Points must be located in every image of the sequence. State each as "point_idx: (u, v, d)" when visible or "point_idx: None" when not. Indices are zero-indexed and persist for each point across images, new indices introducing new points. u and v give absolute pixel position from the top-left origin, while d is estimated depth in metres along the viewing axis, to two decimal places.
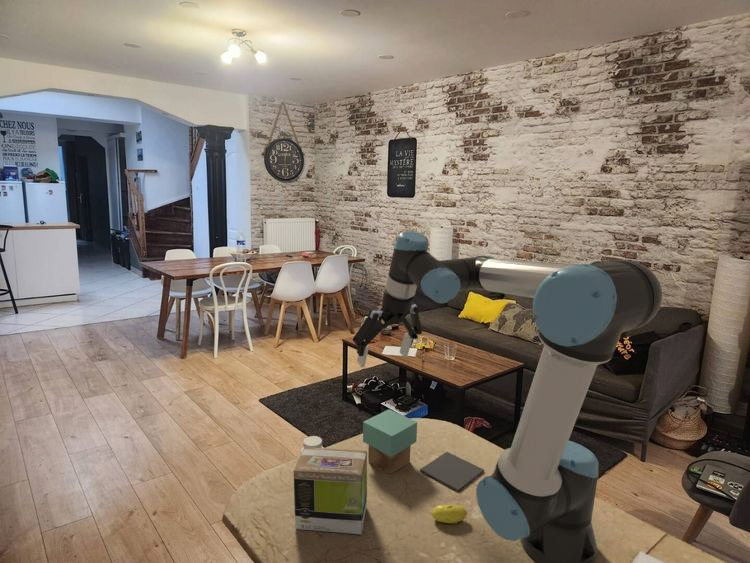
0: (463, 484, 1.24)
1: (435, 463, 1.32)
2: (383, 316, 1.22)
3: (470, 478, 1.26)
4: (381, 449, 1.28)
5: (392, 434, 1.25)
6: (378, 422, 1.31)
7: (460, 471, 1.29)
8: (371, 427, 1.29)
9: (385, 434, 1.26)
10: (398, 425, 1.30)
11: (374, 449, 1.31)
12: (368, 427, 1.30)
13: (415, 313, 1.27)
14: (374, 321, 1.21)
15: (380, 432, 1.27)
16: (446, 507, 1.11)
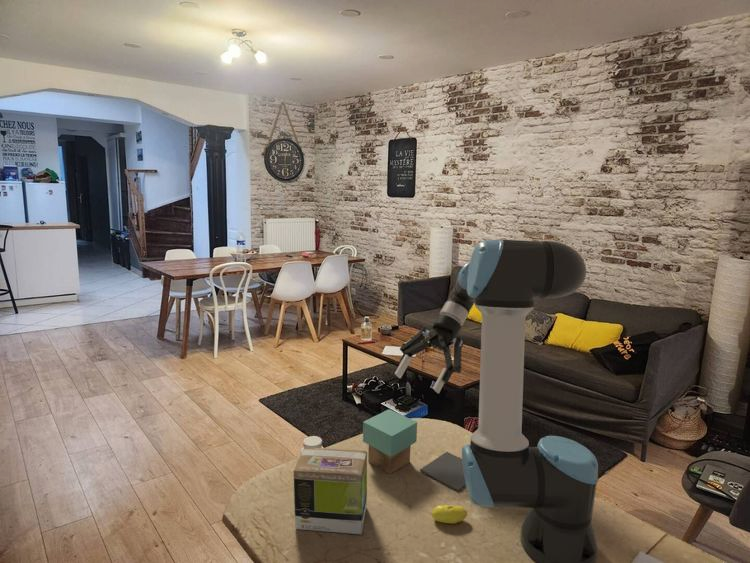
0: (463, 484, 1.24)
1: (435, 463, 1.32)
2: (428, 333, 1.44)
3: None
4: (381, 449, 1.28)
5: (392, 434, 1.25)
6: (378, 422, 1.31)
7: (460, 471, 1.29)
8: (371, 427, 1.29)
9: (385, 434, 1.26)
10: (398, 425, 1.30)
11: (374, 449, 1.31)
12: (368, 427, 1.30)
13: (455, 342, 1.37)
14: (420, 332, 1.46)
15: (380, 432, 1.27)
16: (446, 507, 1.11)
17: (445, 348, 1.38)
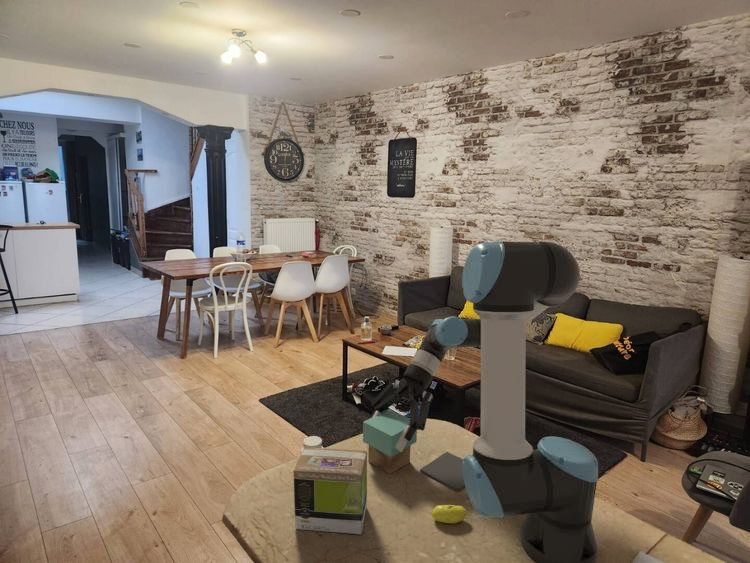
0: (463, 484, 1.24)
1: (435, 463, 1.32)
2: (399, 383, 1.38)
3: None
4: (381, 449, 1.28)
5: (392, 434, 1.25)
6: (378, 422, 1.31)
7: (460, 471, 1.29)
8: (371, 427, 1.29)
9: (385, 434, 1.26)
10: (398, 425, 1.30)
11: (374, 449, 1.31)
12: (368, 427, 1.30)
13: (424, 397, 1.31)
14: (389, 384, 1.39)
15: (380, 432, 1.27)
16: (446, 507, 1.11)
17: (412, 402, 1.31)
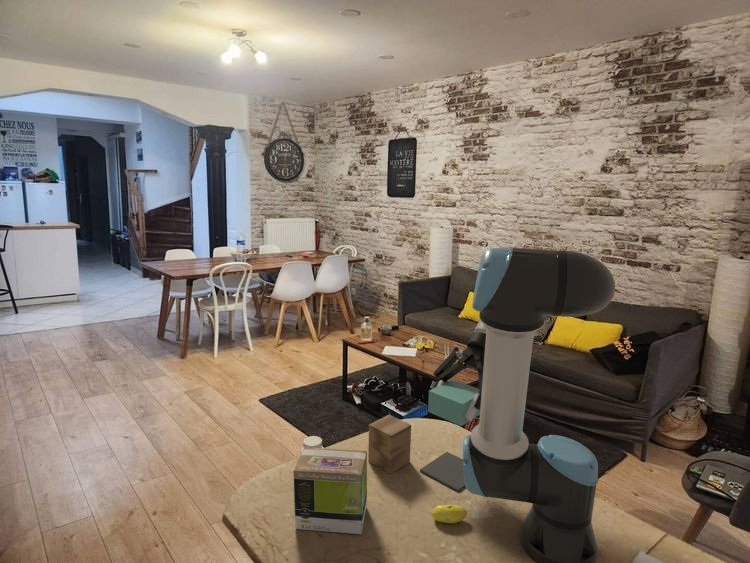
0: (463, 484, 1.24)
1: (435, 463, 1.32)
2: (463, 351, 1.32)
3: None
4: (449, 419, 1.22)
5: (463, 402, 1.19)
6: (444, 391, 1.25)
7: (460, 471, 1.29)
8: (439, 396, 1.23)
9: (455, 402, 1.20)
10: (466, 394, 1.24)
11: (374, 449, 1.31)
12: (435, 396, 1.24)
13: None
14: (452, 353, 1.33)
15: (449, 400, 1.21)
16: (446, 507, 1.11)
17: (480, 370, 1.25)
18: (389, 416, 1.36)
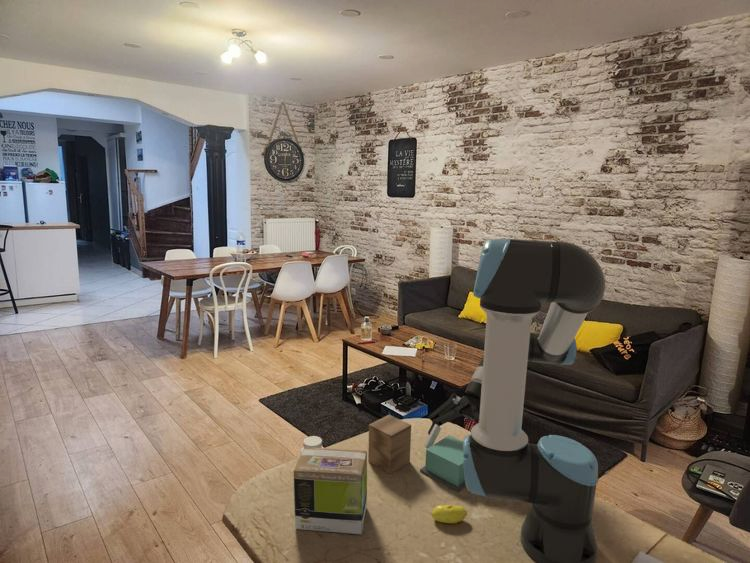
0: (463, 484, 1.24)
1: None
2: (459, 400, 1.35)
3: None
4: (446, 478, 1.25)
5: (459, 463, 1.23)
6: (441, 450, 1.28)
7: None
8: (436, 455, 1.26)
9: (451, 463, 1.23)
10: (462, 453, 1.27)
11: (374, 449, 1.31)
12: (432, 455, 1.27)
13: None
14: (450, 399, 1.36)
15: (446, 461, 1.24)
16: (446, 507, 1.11)
17: (479, 420, 1.28)
18: (389, 416, 1.36)
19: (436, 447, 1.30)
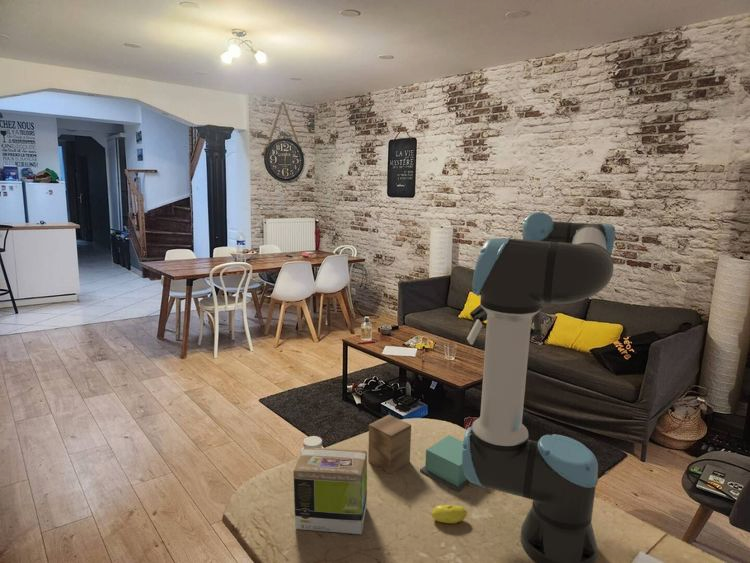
0: (463, 484, 1.24)
1: None
2: None
3: None
4: (446, 478, 1.25)
5: (459, 463, 1.23)
6: (441, 450, 1.28)
7: None
8: (436, 455, 1.26)
9: (451, 463, 1.23)
10: None
11: (374, 449, 1.31)
12: (432, 455, 1.27)
13: None
14: None
15: (446, 461, 1.24)
16: (446, 507, 1.11)
17: None
18: (389, 416, 1.36)
19: (436, 447, 1.30)
